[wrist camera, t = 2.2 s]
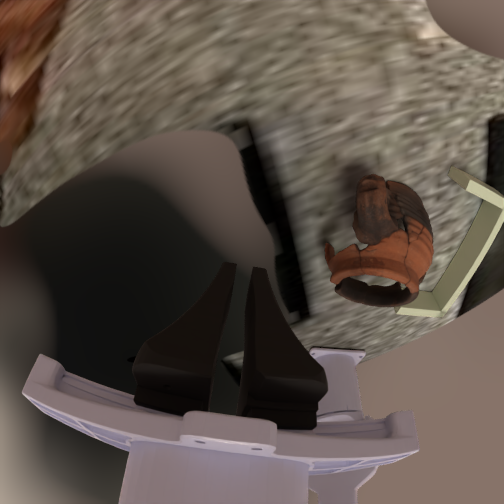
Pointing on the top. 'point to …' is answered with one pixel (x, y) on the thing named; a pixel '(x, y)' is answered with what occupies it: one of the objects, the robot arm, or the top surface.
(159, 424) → the robot arm
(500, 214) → the tray
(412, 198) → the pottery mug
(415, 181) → the top surface
